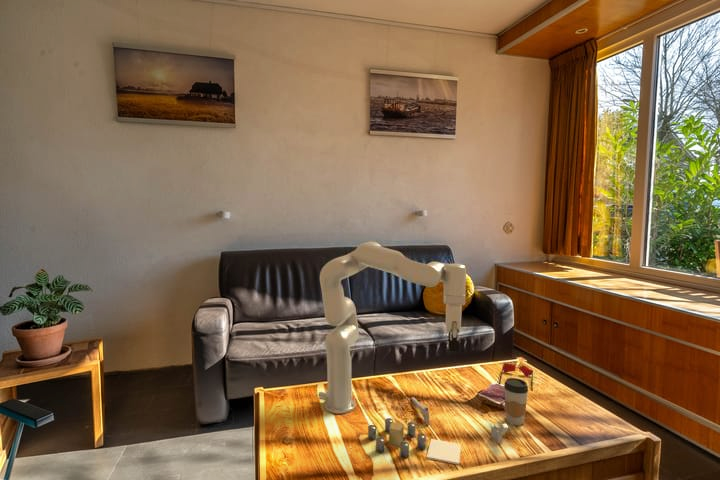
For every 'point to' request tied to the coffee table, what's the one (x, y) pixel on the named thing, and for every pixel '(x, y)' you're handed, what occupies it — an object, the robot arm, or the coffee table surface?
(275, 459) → the coffee table surface
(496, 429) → the lighter
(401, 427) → the tan rectangular block
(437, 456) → the coaster
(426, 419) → the caliper
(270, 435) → the coffee table surface
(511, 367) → the glasses
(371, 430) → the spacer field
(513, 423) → the coffee cup
